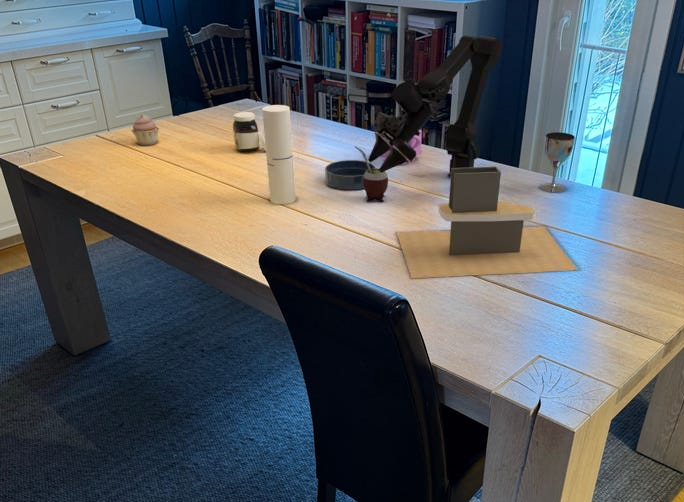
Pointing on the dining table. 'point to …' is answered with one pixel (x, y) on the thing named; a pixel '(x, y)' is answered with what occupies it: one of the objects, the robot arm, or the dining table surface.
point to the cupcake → (145, 131)
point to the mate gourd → (374, 182)
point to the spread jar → (247, 133)
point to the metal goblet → (557, 155)
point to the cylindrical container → (279, 153)
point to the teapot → (414, 143)
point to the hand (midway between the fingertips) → (374, 166)
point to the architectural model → (481, 234)
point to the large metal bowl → (346, 174)
